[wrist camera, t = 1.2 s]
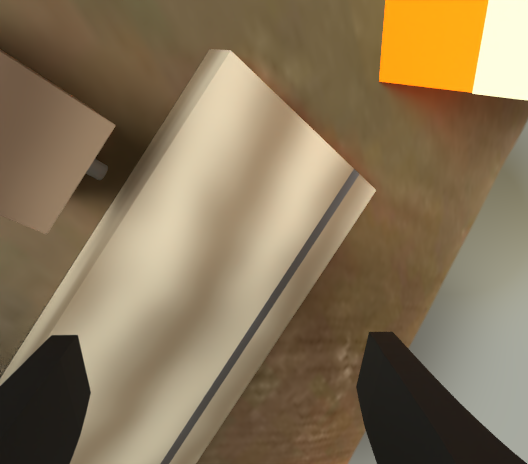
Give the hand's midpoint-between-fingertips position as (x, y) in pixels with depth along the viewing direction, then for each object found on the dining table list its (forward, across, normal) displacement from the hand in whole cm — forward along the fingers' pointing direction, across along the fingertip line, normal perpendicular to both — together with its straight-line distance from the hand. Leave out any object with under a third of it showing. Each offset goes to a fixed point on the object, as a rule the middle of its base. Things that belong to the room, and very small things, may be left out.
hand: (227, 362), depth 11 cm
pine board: (+9, +5, +9) cm, 14 cm away
